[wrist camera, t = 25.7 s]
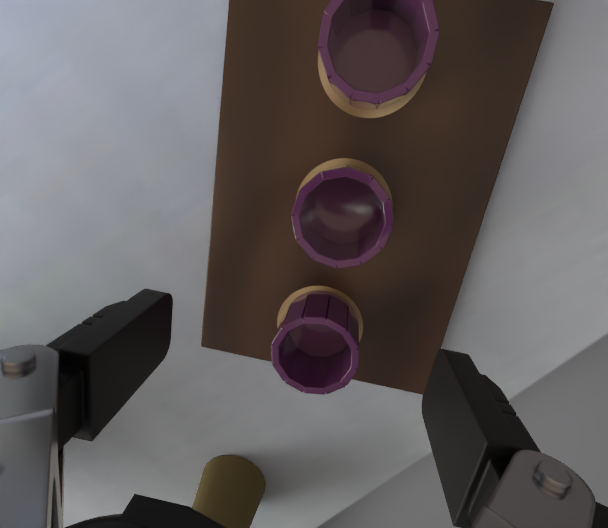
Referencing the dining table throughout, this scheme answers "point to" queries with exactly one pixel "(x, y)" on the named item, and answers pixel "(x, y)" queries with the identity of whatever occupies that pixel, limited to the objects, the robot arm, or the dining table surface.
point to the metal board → (370, 156)
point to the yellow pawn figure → (230, 491)
